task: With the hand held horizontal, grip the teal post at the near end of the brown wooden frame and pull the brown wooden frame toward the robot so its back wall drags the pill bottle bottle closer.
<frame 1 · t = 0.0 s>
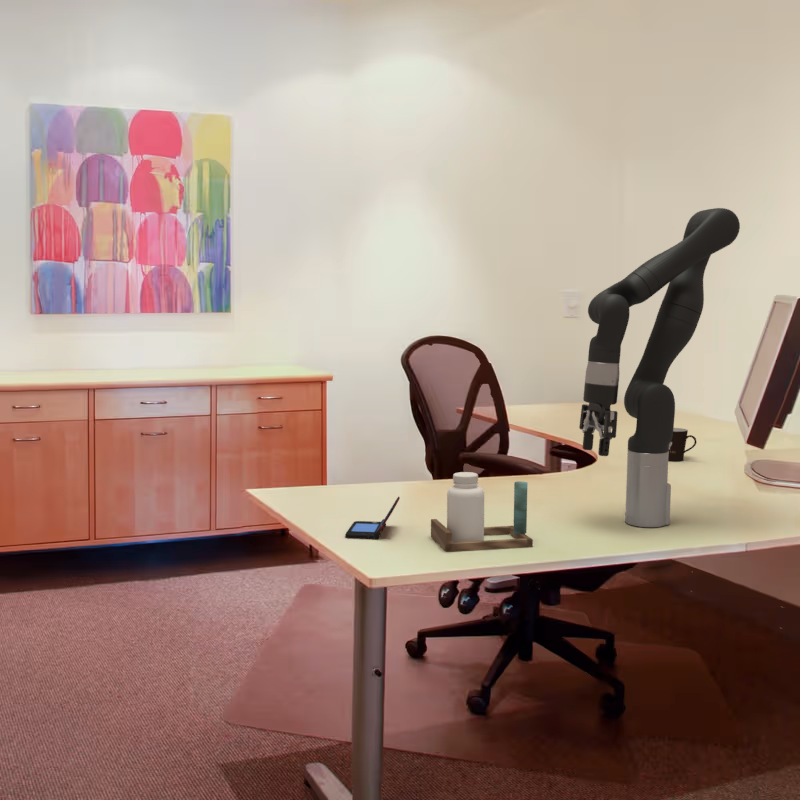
hand: (595, 452, 215), 17 cm above the table, tool pointing down, fingers open, 8 cm apart
handheld game console: (373, 534, 211), on the table
pill bottle: (465, 543, 202), on the table
brown wooden frame: (483, 513, 202), point 6 cm above the table, slide at 0.0 cm
coffee mug: (675, 461, 304), on the table
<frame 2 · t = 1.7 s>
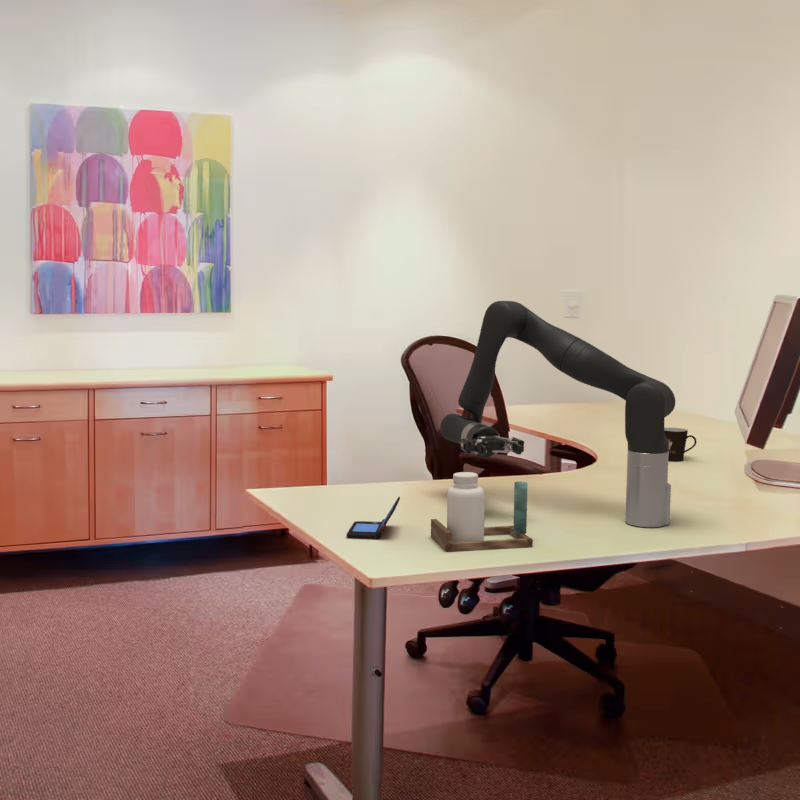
hand: (502, 450, 215), 18 cm above the table, tool horizontal, fingers open, 8 cm apart
nothing on the table moved.
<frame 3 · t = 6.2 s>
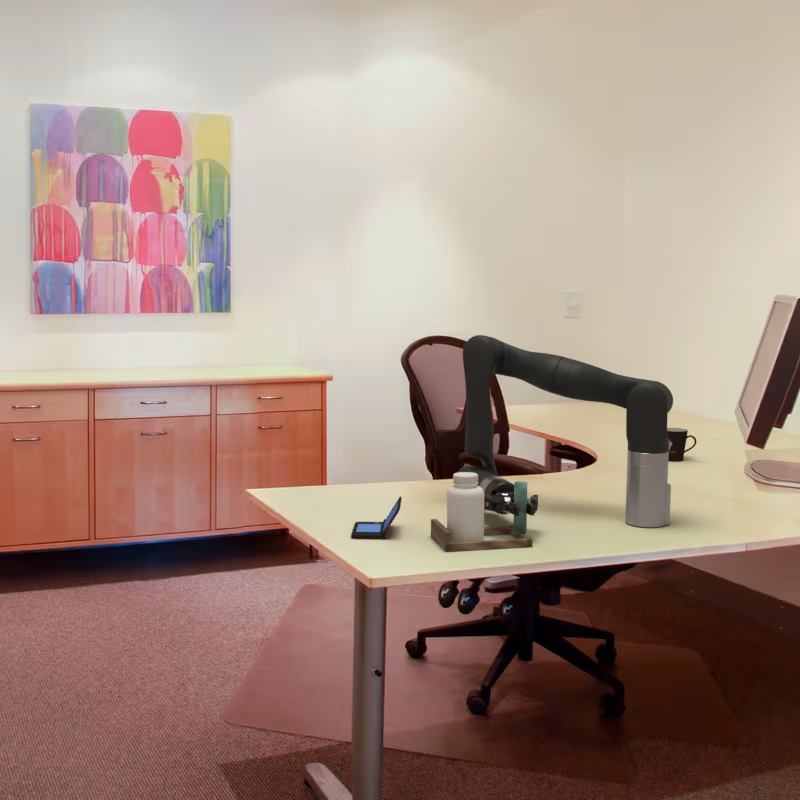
hand: (525, 511, 201), 7 cm above the table, tool horizontal, fingers closed on brown wooden frame, 3 cm apart
brown wooden frame: (482, 513, 202), point 6 cm above the table, slide at 0.0 cm, touching gripper
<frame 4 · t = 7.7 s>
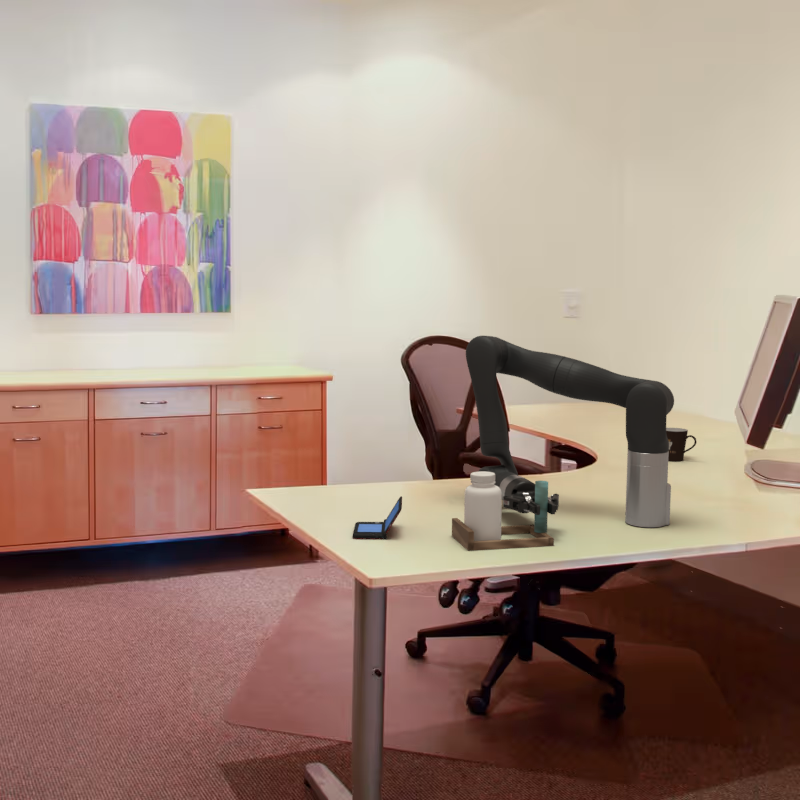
hand: (546, 510, 202), 7 cm above the table, tool horizontal, fingers closed on brown wooden frame, 3 cm apart
pill bottle: (482, 542, 203), on the table, touching brown wooden frame
brown wooden frame: (504, 512, 203), point 6 cm above the table, slide at 4.8 cm, touching gripper, pill bottle
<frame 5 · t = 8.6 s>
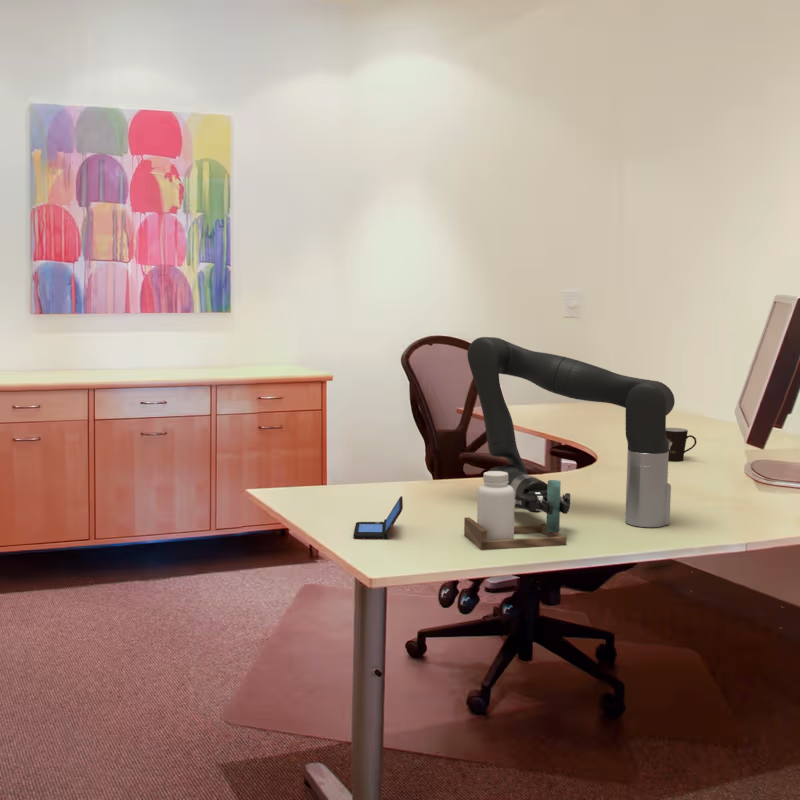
hand: (558, 509, 203), 7 cm above the table, tool horizontal, fingers closed on brown wooden frame, 3 cm apart
pill bottle: (495, 542, 203), on the table, touching brown wooden frame
brown wooden frame: (516, 511, 204), point 6 cm above the table, slide at 7.7 cm, touching gripper, pill bottle
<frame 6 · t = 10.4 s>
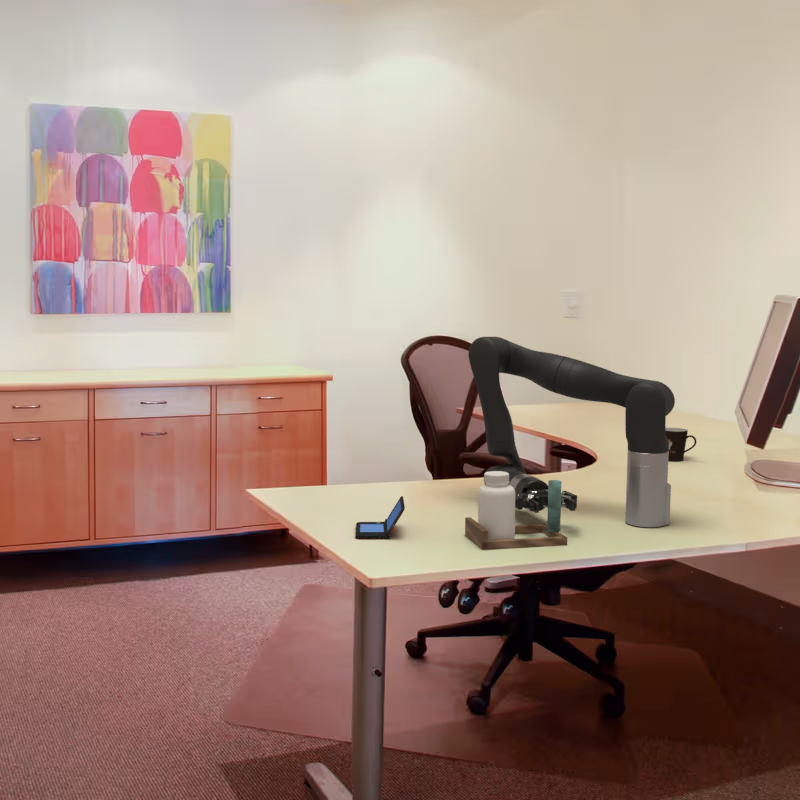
hand: (556, 507, 205), 7 cm above the table, tool horizontal, fingers open, 8 cm apart
pill bottle: (496, 542, 204), on the table
brown wooden frame: (517, 511, 204), point 6 cm above the table, slide at 7.8 cm
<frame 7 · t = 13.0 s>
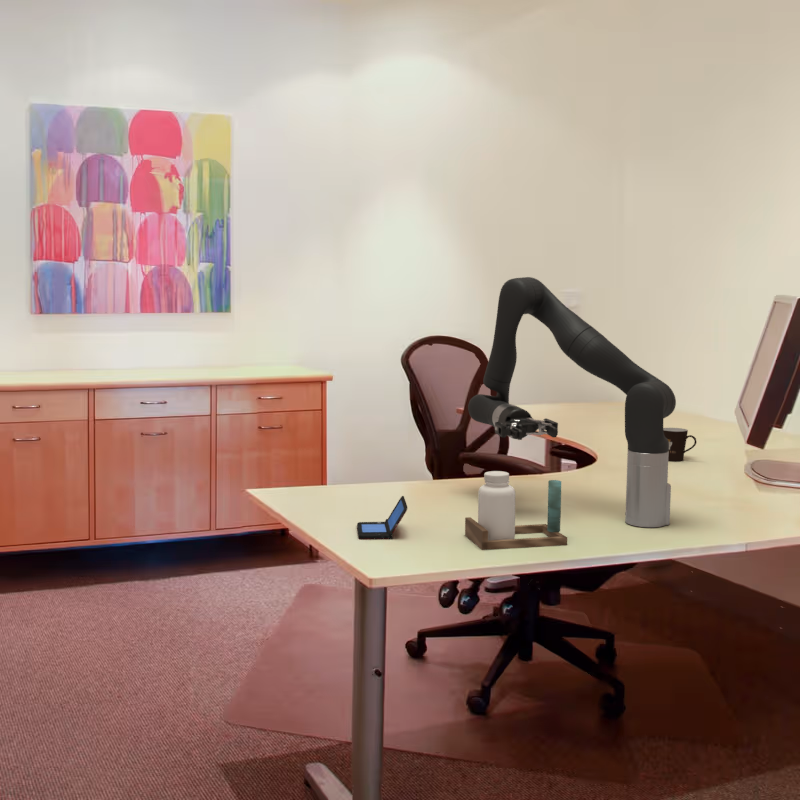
hand: (538, 434, 216), 21 cm above the table, tool horizontal, fingers open, 8 cm apart
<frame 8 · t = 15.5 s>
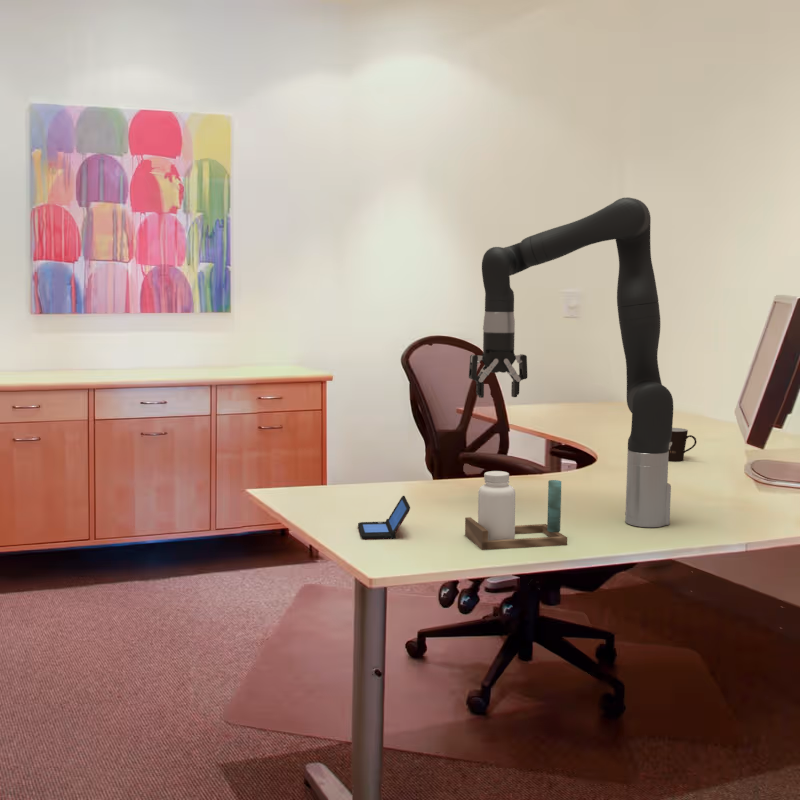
hand: (497, 397, 230), 28 cm above the table, tool pointing down, fingers open, 8 cm apart
at the end: brown wooden frame slide at 7.8 cm; pill bottle moved 6.9 cm from its start; pill bottle tilted 0° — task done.
